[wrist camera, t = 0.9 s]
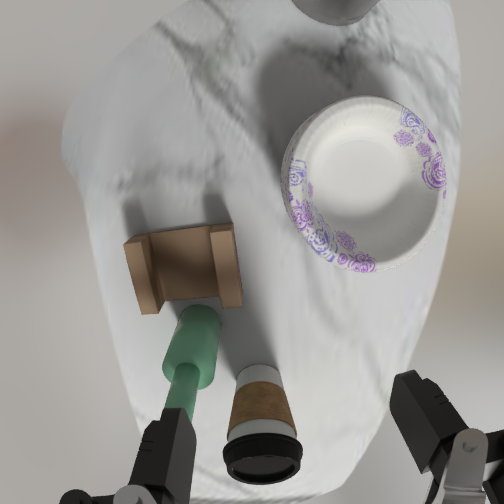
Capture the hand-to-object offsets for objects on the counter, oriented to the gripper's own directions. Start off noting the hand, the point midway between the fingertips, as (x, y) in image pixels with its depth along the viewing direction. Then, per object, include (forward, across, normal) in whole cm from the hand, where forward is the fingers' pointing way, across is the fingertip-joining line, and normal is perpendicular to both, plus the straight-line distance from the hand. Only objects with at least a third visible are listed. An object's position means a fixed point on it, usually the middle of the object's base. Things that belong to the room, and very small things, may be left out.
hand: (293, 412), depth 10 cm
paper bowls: (+23, -10, -6) cm, 26 cm away
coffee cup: (+24, +2, +19) cm, 30 cm away
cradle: (+23, +8, +1) cm, 24 cm away
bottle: (+23, +8, +8) cm, 26 cm away
